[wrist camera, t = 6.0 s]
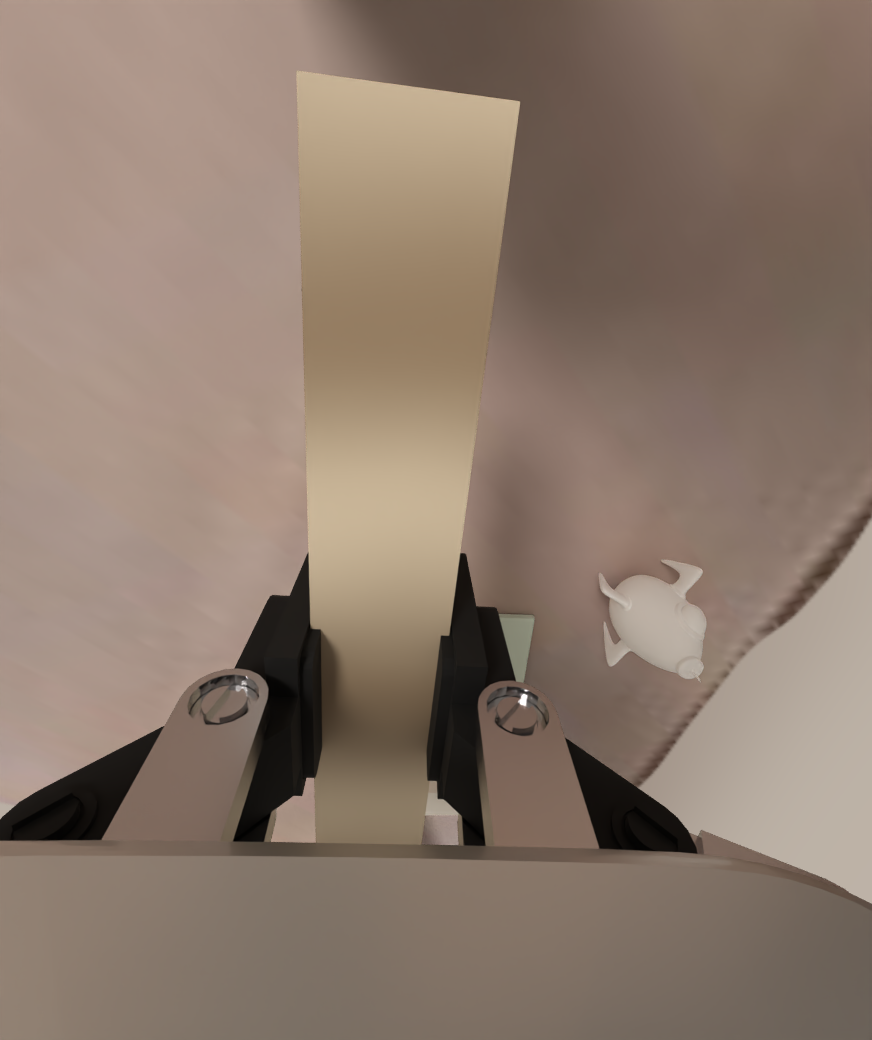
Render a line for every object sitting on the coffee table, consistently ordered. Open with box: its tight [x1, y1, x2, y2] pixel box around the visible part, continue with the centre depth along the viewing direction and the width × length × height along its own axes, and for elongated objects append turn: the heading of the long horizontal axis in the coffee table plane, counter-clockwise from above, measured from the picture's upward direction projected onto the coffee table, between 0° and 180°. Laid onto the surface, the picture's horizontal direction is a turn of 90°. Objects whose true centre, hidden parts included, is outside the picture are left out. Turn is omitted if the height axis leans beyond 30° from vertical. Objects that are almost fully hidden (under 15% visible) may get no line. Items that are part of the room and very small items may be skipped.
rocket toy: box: [599, 560, 707, 682], centre depth 26 cm, size 5×5×8 cm
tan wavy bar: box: [296, 71, 520, 845], centre depth 11 cm, size 18×2×4 cm, turn 175°
